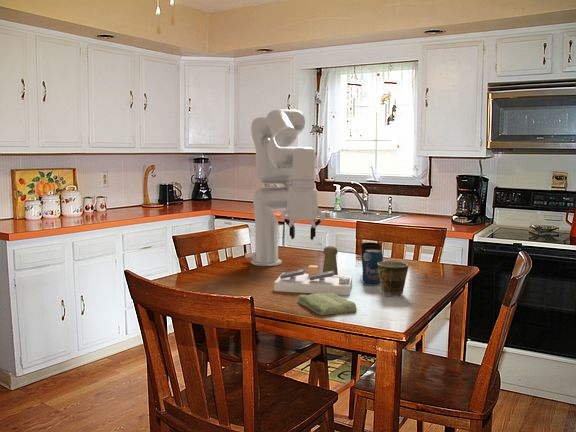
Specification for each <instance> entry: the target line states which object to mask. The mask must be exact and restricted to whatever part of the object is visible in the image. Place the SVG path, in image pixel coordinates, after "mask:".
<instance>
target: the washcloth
mask: <svg viewBox="0 0 576 432" xmlns="http://www.w3.org/2000/svg"><path fill="white" fill-rule="evenodd" d="M297 299H298V300H297V303H298V304H299V303H300V304H299V305H301V306H303V307H305V308H306V307H307V308H306V309H308V308H309V309H308V310H310V311H312V312H314V313H316V314H318V315H319V316H329V315H338V314H347V313H355V312H357V305H356V303H355V301H352V300H348V299H347V298H345V297H343V296H341V295H337V294H334V293H327V294H326V293H309V294H299V295H298V297H297Z"/></svg>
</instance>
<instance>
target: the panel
mask: <svg viewBox="0 0 576 432" xmlns="http://www.w3.org/2000/svg"><path fill="white" fill-rule="evenodd" d="M283 273H284V272H282V273H281V274H283ZM281 274H280V275H279V276H278V278H277V279H276V280H274V283H273V284H274V285H273V286H274V287H273V289H274V292H281V293H282V292H284V293H301V294H303V293H304V294H317V293H318V294H319V293H326V294H327V293H334V294H336V295H338V296H341V295H342V296H350V293H351V291H352V287H353V286H352V285H353V275H339V274H338V275H334V276H331V277H326V278H320V279H315V280H310V276H311V275H308V273H304V275H299V276H294V277H289V278H283V279H281V278H280V276H281Z"/></svg>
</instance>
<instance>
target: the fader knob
mask: <svg viewBox="0 0 576 432" xmlns="http://www.w3.org/2000/svg"><path fill="white" fill-rule="evenodd" d="M307 274H308V275H313V274H319V265H313V264H311V265H308V273H307Z"/></svg>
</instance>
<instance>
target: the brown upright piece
mask: <svg viewBox="0 0 576 432" xmlns="http://www.w3.org/2000/svg"><path fill="white" fill-rule="evenodd" d="M323 254H324V261H323V267H322V272H321V273H324V272H329V271H334V275H339V272H338V265H337V255H338V248H337V247H336V246H331V245H330V246H329V245H328V246H325V247H324V248H323Z"/></svg>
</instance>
